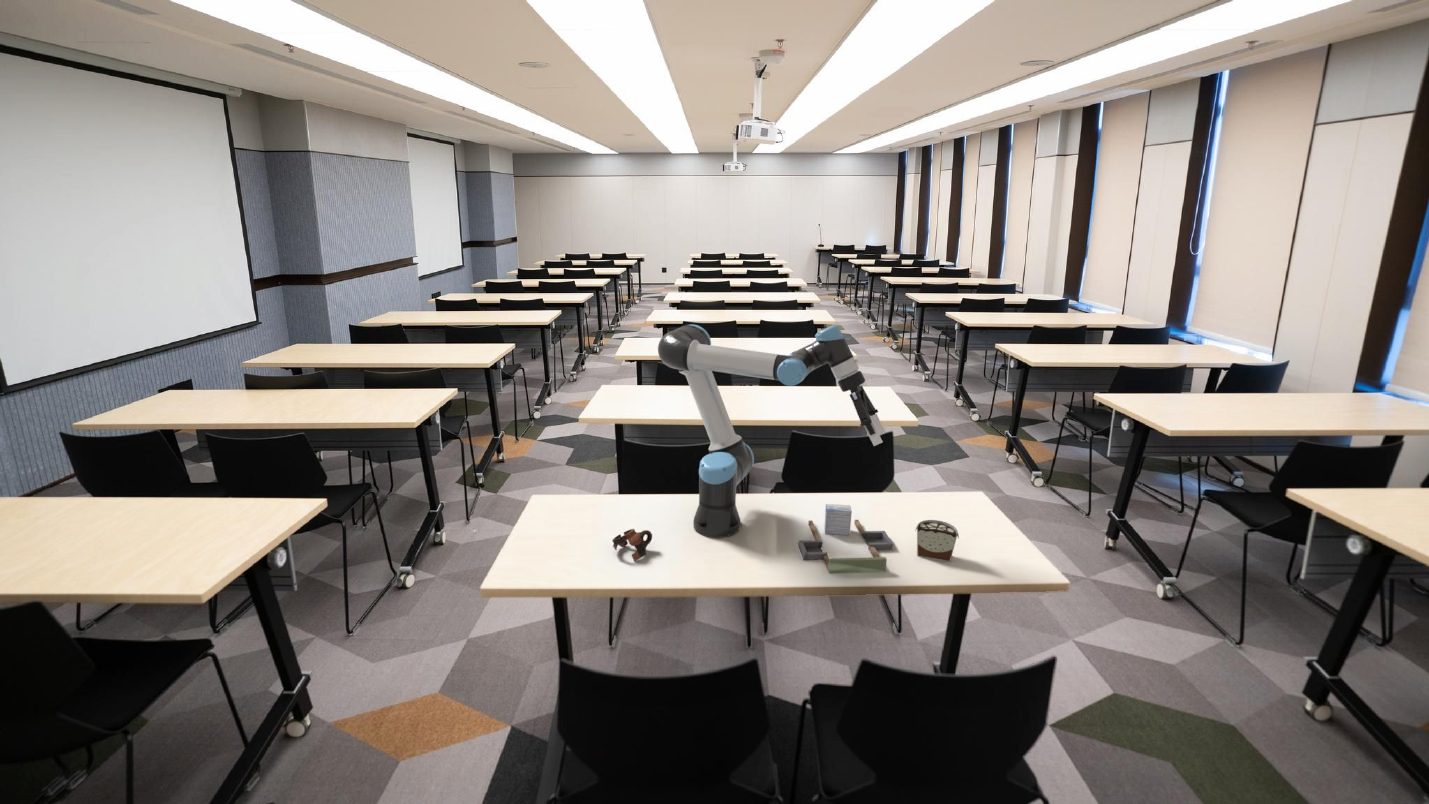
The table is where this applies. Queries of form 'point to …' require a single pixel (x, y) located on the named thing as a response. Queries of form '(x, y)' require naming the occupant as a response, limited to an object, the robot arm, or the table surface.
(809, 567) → the table surface
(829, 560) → the walnut lane
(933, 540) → the food container
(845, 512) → the medicine box
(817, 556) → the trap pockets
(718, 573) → the table surface
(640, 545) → the brown looped part
